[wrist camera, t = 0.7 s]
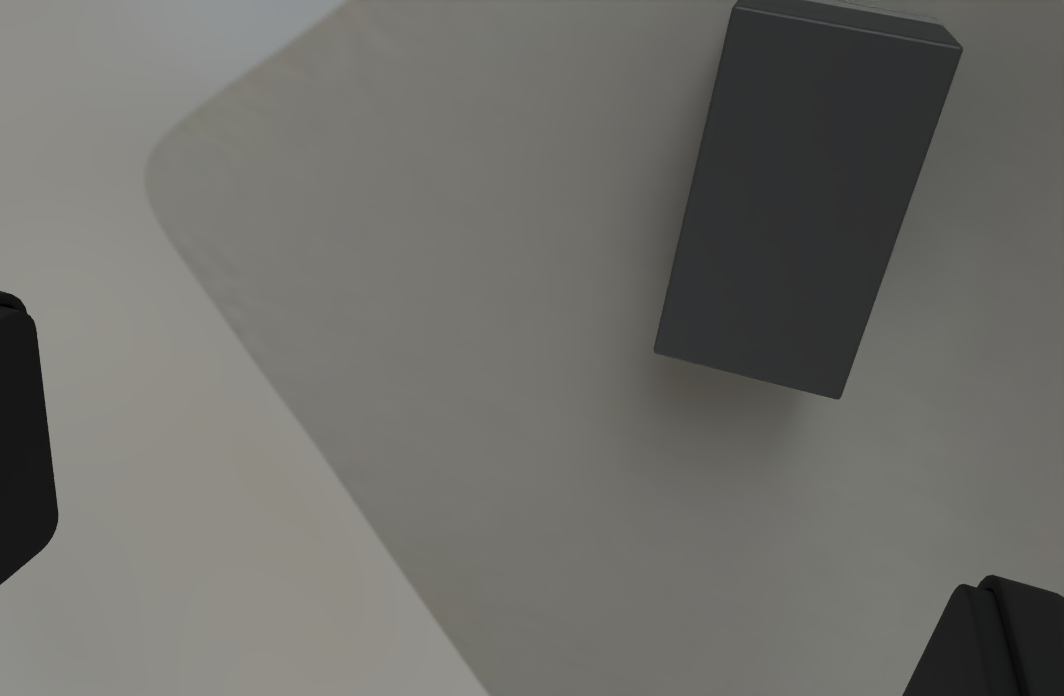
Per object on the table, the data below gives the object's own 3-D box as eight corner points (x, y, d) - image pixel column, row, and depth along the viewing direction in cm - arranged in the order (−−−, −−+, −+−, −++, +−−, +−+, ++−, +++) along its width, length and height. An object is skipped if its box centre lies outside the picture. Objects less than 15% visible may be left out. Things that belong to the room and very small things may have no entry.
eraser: (748, -15, 25) (733, 4, 21) (938, 19, 24) (964, 46, 20) (677, 285, 29) (652, 353, 25) (837, 324, 28) (840, 401, 24)
